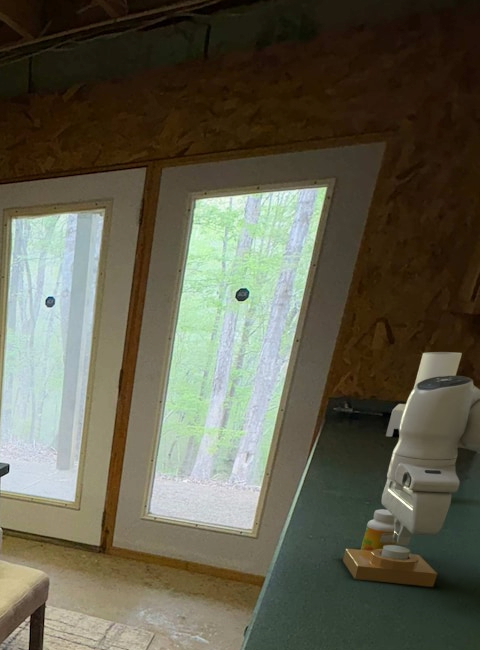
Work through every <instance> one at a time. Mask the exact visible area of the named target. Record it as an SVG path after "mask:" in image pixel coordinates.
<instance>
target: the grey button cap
mask: <svg viewBox="0 0 480 650" xmlns="http://www.w3.org/2000/svg"><path fill="white" fill-rule="evenodd" d="M409 553H410V554H411V550H410V549H409V548H407V547H405V546H402V545H386V546H383V549H382V553H381V555H382V556H384V557H387V558H392V559H399V560H406V559H408V557H409Z"/></svg>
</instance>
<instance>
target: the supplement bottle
mask: <svg viewBox="0 0 480 650" xmlns="http://www.w3.org/2000/svg"><path fill="white" fill-rule="evenodd" d="M394 519H395V517H394V516H393V515H392V514H391V513H390V512H389V511H388V510H387V509H383V508H382V509H376V510H374V513H373V519H371V520H369V521H368V522H367V524H366V527H365V532H364V536H363V539H362V543H361V547H360V550H368V551H373V550H375V549H383V546H386V545H395V546H397V545H396V544H397V543H396V542H395V541H394V540H393V535H394Z"/></svg>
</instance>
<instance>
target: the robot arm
mask: <svg viewBox="0 0 480 650" xmlns="http://www.w3.org/2000/svg"><path fill="white" fill-rule="evenodd" d="M405 404H406V405H405V408H404V411H403V414H402V418H401V422H400V426H399V429H398V435H399V437H398V441H397V443H396V445H395V447H394V448H393V451H392V453H391V458H390V462H389V466H388V469H387V474H386V478H387V479H386V482H385V485H384V489H383V491H382V495H381V505H382V506H383V508H385V510H388V511H389V512H390V513H391V514H392V515H393V516H394V517H395V519H394V535H393V540H394V541H395V542H396V544H397V546H404V547H405V546H409V545H410V542H411V538H412V537H413V536H414V535H417V536H430V537H431V536H433V537H434V536H437V534H439V532H440V531H441V529H442V528H443V525H444V523H445V520H446V518H447V516H448V512H449V509H450V506H451V503H452V494H451V493H454V494H455V493H457V492H458V491H459V488H460V483H461V482H460V479H459V477H458V474H457V471H456V462H457V459H458V452H459V451H458V448H460V449H464V450H465V449H466V450H469V451H473V452H478V453H480V388H478V387H477V386H476V385H474V379H472V378H471V377H468V376H463V375H456V376H442V377H441V376H439V377H433V378H429V379H425V380H423V381H421V382H419V383H418V384H417V385H416V386H415V387H414V386H413V388H412V390H411V391H410V393H409V396H408V398H407V401H406V403H405Z"/></svg>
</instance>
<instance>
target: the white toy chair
mask: <svg viewBox="0 0 480 650" xmlns="http://www.w3.org/2000/svg"><path fill="white" fill-rule="evenodd" d="M462 354H463V353H462V352H454V351H453V352H452V351H451V352H449V351H438V352H437V351H434V352H433V351H432V352H431V351H430V352H422V355H421V359H420V363H419V367H418V371H417V375H416V379H415V381H414V386H413V388H414V387H415V386H416V385H417V384H418V383H419V382H421V381H423V380H425V379H429V378H433V377H439V376H441V377H442V376H457V373H458V369H459V365H460V362H461V358H462ZM405 405H406V403H398V404H397V405H396V406H395V407H394V408H393V409H392V411H391V415H390V417H389V422H388V426H387V430H386V433H385V437H388V438H389V437H393V435H394V432H395V430H399V426H400V422H401V418H402V414H403V411H404V408H405Z"/></svg>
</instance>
